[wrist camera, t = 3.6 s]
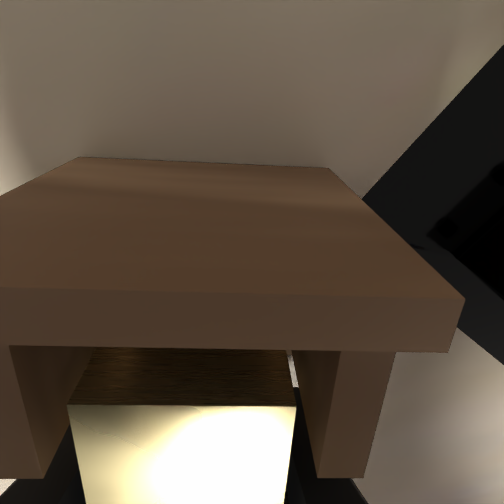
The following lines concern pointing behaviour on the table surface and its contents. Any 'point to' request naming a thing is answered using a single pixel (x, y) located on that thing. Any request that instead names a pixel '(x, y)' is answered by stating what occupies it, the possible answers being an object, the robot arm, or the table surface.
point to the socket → (207, 291)
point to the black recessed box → (458, 201)
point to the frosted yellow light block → (184, 426)
